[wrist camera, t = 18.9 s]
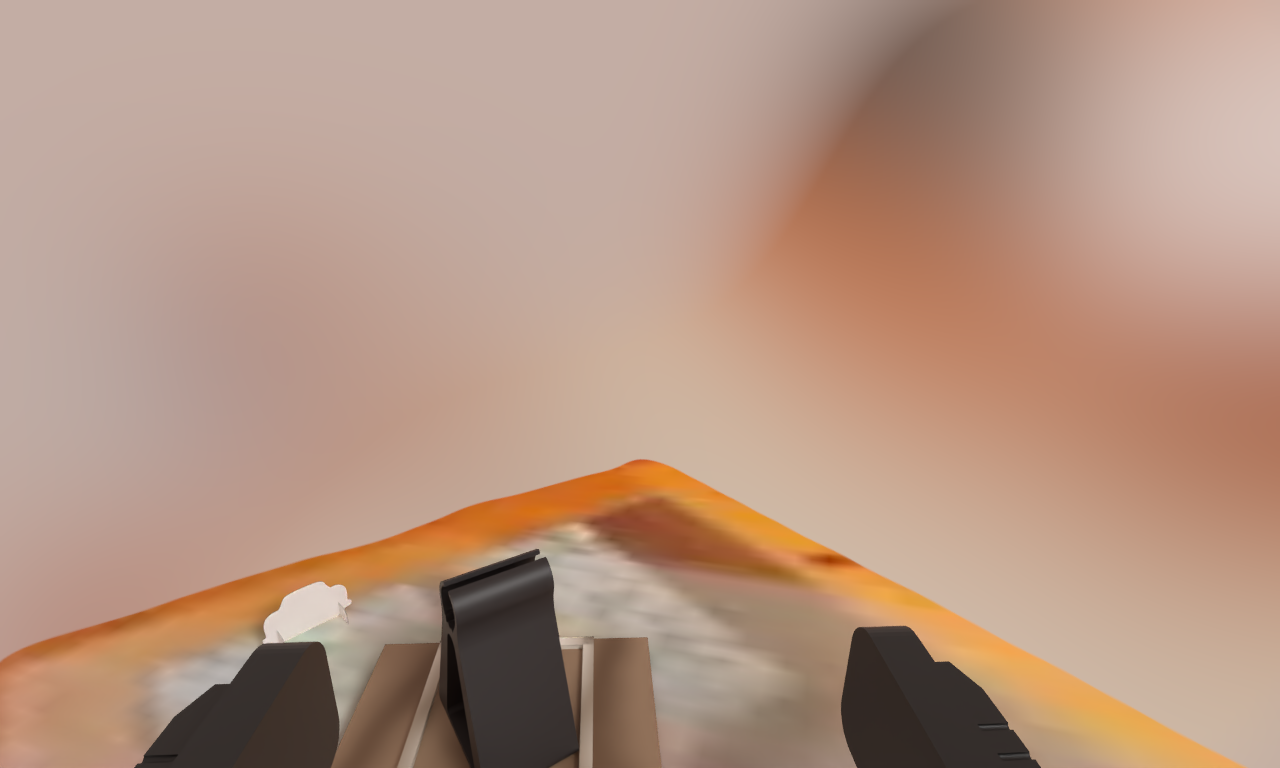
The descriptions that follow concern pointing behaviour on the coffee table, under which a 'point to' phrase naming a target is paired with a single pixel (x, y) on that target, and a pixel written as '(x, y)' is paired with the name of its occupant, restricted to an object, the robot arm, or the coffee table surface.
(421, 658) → the marked board
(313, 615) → the car cutout
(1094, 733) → the coffee table surface
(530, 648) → the phone stand
